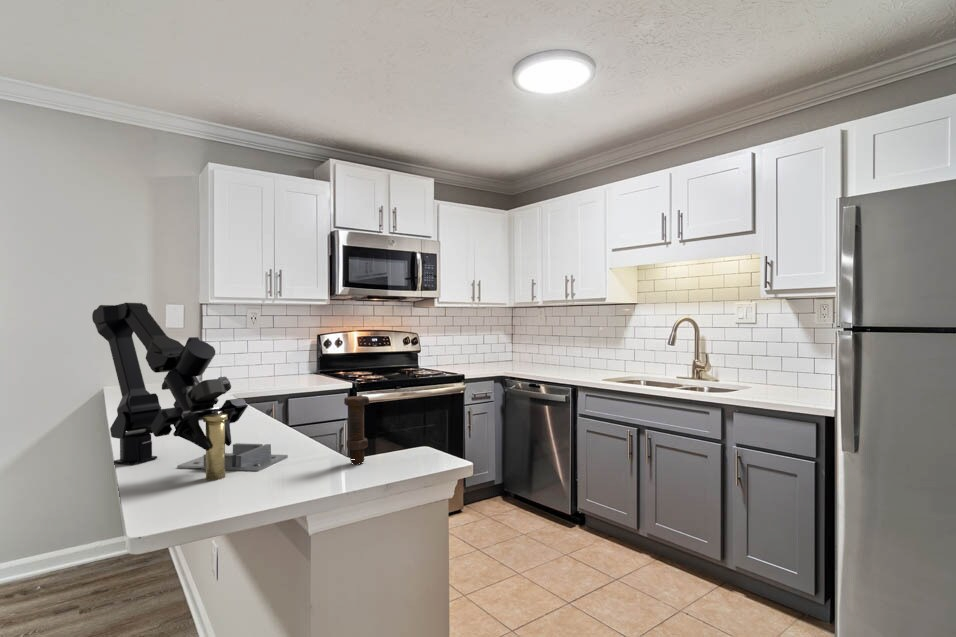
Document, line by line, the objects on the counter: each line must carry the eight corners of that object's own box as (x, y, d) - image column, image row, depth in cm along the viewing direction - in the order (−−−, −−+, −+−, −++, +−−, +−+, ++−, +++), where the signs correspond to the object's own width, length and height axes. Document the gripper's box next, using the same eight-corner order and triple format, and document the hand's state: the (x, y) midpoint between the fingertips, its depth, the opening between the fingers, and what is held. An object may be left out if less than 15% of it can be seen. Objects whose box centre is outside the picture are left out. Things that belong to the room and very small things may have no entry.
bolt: (373, 460, 122) (372, 395, 123) (366, 466, 117) (365, 398, 118) (348, 460, 123) (348, 395, 123) (341, 466, 118) (340, 398, 118)
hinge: (177, 468, 118) (177, 454, 118) (213, 455, 130) (213, 442, 130) (258, 471, 115) (258, 456, 115) (287, 457, 127) (287, 444, 127)
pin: (198, 480, 109) (197, 416, 109) (216, 474, 113) (215, 413, 113) (215, 482, 107) (214, 417, 107) (232, 475, 111) (232, 414, 112)
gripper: (158, 368, 104) (192, 429, 99) (242, 362, 120) (275, 414, 115) (136, 406, 108) (168, 466, 102) (220, 395, 124) (251, 447, 119)
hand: (219, 446), depth 109 cm, fingers open, 4 cm apart
